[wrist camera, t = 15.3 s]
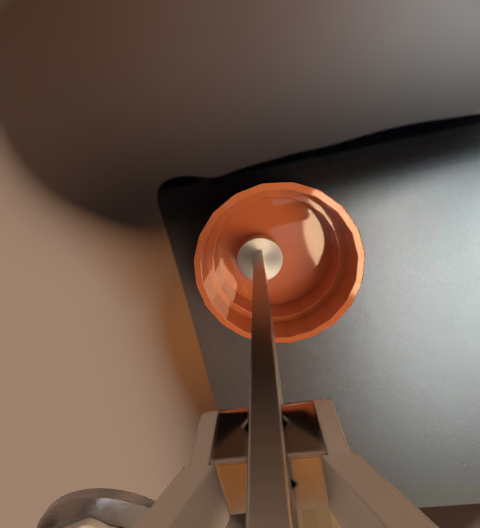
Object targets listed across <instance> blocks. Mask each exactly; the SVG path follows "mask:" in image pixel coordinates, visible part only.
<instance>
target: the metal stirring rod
mask: <svg viewBox="0 0 480 528" xmlns="http://www.w3.org/2000/svg"><path fill="white" fill-rule="evenodd" d="M282 263H283V256H282V252H281V250H280V247H279V245H278V244H277V242H276V241H275V240H273V239H272V238H270V237H268V236H265V235H254V236H251V237H249V238H248V239H246V240H245V241H244V242H243V243H242V244H241V246H240V248H239V252H238V255H237V264H238V267H239V270H240V271H241V273H242V274H243V275H244V276H245V277H247V278H248V279H250V280H253V294H252V328H251V363H250V397H249V431H248V465H247V499H246V528H299V525H298V517H297V509H296V503H295V498H294V493H293V486H292V479H291V478H290V473H289V468H288V463H287V458H286V451H285V442H284V433H283V430H284V426H283V421H282V415H281V404H283V399H282V391H281V383H280V375H279V367H278V359H277V351H276V343H275V335H274V327H273V320H272V312H271V304H270V296H269V288H268V280H270V279H272V278H273V277H275V276H276V275H277V274H278V272H279V271H280V269H281V267H282Z"/></svg>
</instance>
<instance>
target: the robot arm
mask: <svg viewBox="0 0 480 528" xmlns="http://www.w3.org/2000/svg"><path fill="white" fill-rule="evenodd" d="M281 415H282V421H283V426H284V430H283V433H284V442H285V451H286V458H287V463H288V468H289V473H290V478H291V479H292V486H293V493H294V498H295V503H296V509H323V508H330V511H331V513H332V514H333V516H334V517H335V518H336V520H337V521H338V523H339V524H340V526H341V527H342V528H439V527H438V526H436V524H435V523H433V522H432V521H431V520H430V519H429V518H428V517H427V516H426V515H425V514H423V513H422V512H421V511H420V510H419V509H418V508H417V507H416V506H415V505H414V504H413V503H412V502H410V501H409V500H408V499H407V498H406V497H405V496H404V495H403V494H402V493H401V492H399V491H398V490H397V489H396V488H395V487H394V486H393V485H392V484H391V483H390V482H389V481H387V480H386V479H385V478H384V477H383V476H382V475H381V474H380V473H379V472H378V471H376V470H375V469H374V468H373V467H372V466H371V465H370V464H369V463H368V462H367V461H366V460H364V459H363V458H362V457H361V456H360V455H359V454H358V453H357V452H355V453H351V452H350V449H349V447H348V444H347V441H346V438H345V435H344V433H343V430H342V427H341V424H340V422H339V419H338V416H337V413H336V410H335V408H334V405H333V402H332V400H331V399H330V398H326V399H318V400H313V401H312V400H310V401H302V402H294V403H286V404H281ZM248 431H249V408H242V409H230V410H219V411H210V412H203V414H202V415H201V417H200V422H199V426H198V430H197V434H196V438H195V442H194V446H193V451H192V455H191V459H190V463H189V467H184V468H183V469H182V470H181V471H180V472H179V473H178V475H177V476H176V477H175V478H174V480H173V481H172V482H171V483H170V485H169V486H168V487H167V488H166V489H165V491H164V492H163V493H162V494H161V496H160V497H159V498H158V499H157V501H156V502H155V503H154V504H153V505H152V507H151V508H150V509H149V510H148V511H147V513H146V514H145V515H144V516H143V518H142V519H141V520H140V521H139V523H138V524H137V525H136V526H135V527H134V528H225V527H226V525H227V523H228V521H229V518H230V515H231V514H241V513H246V499H247V465H248ZM62 528H117V527H113V526H110V525H107V524H105V523H103V522H101V521H99V520H97V519H95V518H91V517H89V518H85V519H83V520H80V521H78V522H75V523H73V524H70V525H67V526H65V527H62Z"/></svg>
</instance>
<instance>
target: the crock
mask: <svg viewBox="0 0 480 528" xmlns="http://www.w3.org/2000/svg"><path fill="white" fill-rule="evenodd" d="M297 517H298V525H299V528H342V527H341V526H340V524H339V523H338V521H337V520H336V518H335V517H334V516H333V514H332V513H331V511H330V508H323V509H297Z"/></svg>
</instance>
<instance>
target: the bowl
mask: <svg viewBox="0 0 480 528" xmlns="http://www.w3.org/2000/svg"><path fill="white" fill-rule="evenodd" d="M254 235H265V236H268V237H270V238H272V239H273V240H275V241H276V242H277V244H278V245H279V247H280V250H281V252H282V256H283V263H282V267H281V269H280V271H279V272H278V274H277V275H276V276H275V277H273V278H272V279H270V280H268V288H269V296H270V304H271V312H272V320H273V327H274V335H275V343H290V342H294V341H298V340H301V339H305V338H308V337H312V336H314V335H316V334H318V333H319V332H321V331H323V330H324V329H326V328H328V327H329V326H331V325H332V324H334V323H336V321H337V320H338V319H339V318H340V317H341V316H342V315H343V314H344V313H345V311H346V310H347V309H348V308H349V307H350V306H351V305H352V303H353V301H354V299H355V296H356V294H357V292H358V290H359V287H360V285H361V283H362V280H363V271H364V260H365V253H364V249H363V245H362V241H361V237H360V233H359V230H358V228H357V226H356V225H355V223H354V222H353V220H352V219H351V217H350V216H349V214H348V213H347V212H346V210H345V209H344V207H343V206H342V205H340V204H339V203H338V202H336V201H335V200H333V199H332V198H330V197H329V196H328V195H326V194H325V193H323V192H322V191H321V190H318V189H315V188H311V187H308V186H304V185H301V184H297V183H294V182H279V183H262V184H259V185H256V186H253V187H251V188H248V189H246V190H243V191H241V192H239V193H236V194H235V195H233V196H232V197H231V198H230V199H229V200H227V201H226V202H225V203H224V204H223V205H221V206H220V207H219V208H218V209H217V210H215V211H214V213H213V214H212V215H211V217H210V219H209V220H208V222H207V223H206V225H205V227H204V228H203V230H202V232H201V233H200V235H199V239H198V243H197V248H196V252H195V257H194V267H195V277H196V284H197V287H198V290H199V292H200V294H201V296H202V298H203V301H204V303H205V305H206V306H207V308H208V309H209V310H210V311H211V312H212V313H213V314H214V316H215V317H216V318H217V319H218V320H219V321H220V322H221V323H222V324H223V325H224V326H226V327H228V328H229V329H231V330H233V331H234V332H236V333H238V334H239V335H241V336H243V337H246V338H250V339H251V328H252V294H253V280H250V279H248V278H247V277H245V276H244V275H243V274H242V273H241V271H240V270H239V267H238V264H237V255H238V252H239V248H240V246H241V244H242V243H243V242H244V241H245V240H246V239H248V238H249V237H251V236H254Z"/></svg>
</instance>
